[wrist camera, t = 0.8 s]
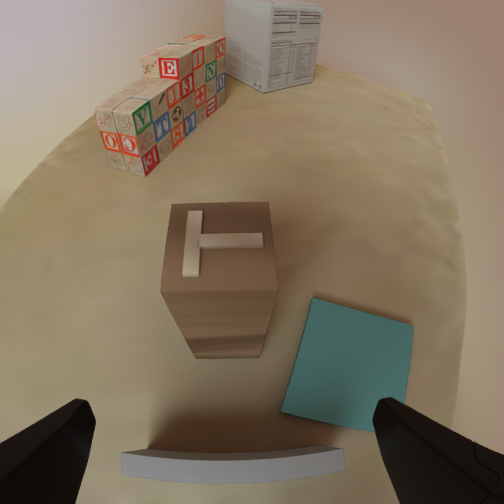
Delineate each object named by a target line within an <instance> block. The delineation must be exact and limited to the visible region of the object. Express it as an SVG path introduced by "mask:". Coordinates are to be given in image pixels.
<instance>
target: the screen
mask: <svg viewBox="0 0 504 504" xmlns="http://www.w3.org/2000/svg"><path fill="white" fill-rule="evenodd" d="M121 464H122V475H126V476H132V477H139V478H145V479H153V480H162V481H172V482H184V483H204V484H242V483H261V482H274V481H284V480H293V479H300V478H307V477H314V476H320V475H325V474H331V473H336V472H341V471H345V464H344V451H343V448H336V447H329V446H322V445H317V446H310V447H303V448H294V449H285V450H275V451H261V452H241V453H199V452H179V451H166V450H155V449H142V450H135V451H129V452H121Z"/></svg>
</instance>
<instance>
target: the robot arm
mask: <svg viewBox="0 0 504 504" xmlns="http://www.w3.org/2000/svg"><path fill="white" fill-rule="evenodd" d="M372 422H373V426H374V430H375V433H376V437H377V441H378V444H379V448H380V452H381V456H382V459H383V462H384V464H385V467H386V470H387V472H388V474H389V477H390V480H391V482H392V485H393V487H394V490H395V492H396V495H397V497H398V500H399V503H400V504H504V455H503V454H500V453H498V452H495V451H492V450H490V449H488V448H486V447H484V446H482V445H479V444H478V443H476V442H472V440H470V439H468V438H466V437H464V436H462V435H460V434H458V433H456V432H454V431H452V430H450V429H449V428H447V427H445V426H443V425H441V424H439V423H437V422H436V421H434V420H432V419H430V418H428V417H426V416H425V415H423V414H421V413H419V412H417V411H416V410H414V409H412V408H410V407H409V406H407V405H405V404H403V403H402V402H400V401H398V400H396V399H395V398H393V397H386V398H381V399H380V400H379V401H378V403H377V405H376V408H375V411H374V414H373V418H372ZM95 425H96V420H95V416H94V414H93V412H92V409H91V407H90V404H89V402H88V401H86V400H83V399H78V398H77V399H74V400H72V401H71V402H69V403H67V404H66V405H64V406H62V407H61V408H59V409H57V410H56V411H54V412H52V413H51V414H49V415H47V416H46V417H44V418H42V419H41V420H39V421H37V422H36V423H34V424H32V425H31V426H29V427H27V428H26V429H24V430H22V431H21V432H19V433H17V434H15V435H14V436H12V437H10V438H8V439H7V440H5V441H3V442H1V443H0V504H75V503H76V499H77V496H78V492H79V489H80V486H81V482H82V479H83V476H84V473H85V469H86V466H87V463H88V459H89V454H90V449H91V444H92V439H93V434H94V430H95Z"/></svg>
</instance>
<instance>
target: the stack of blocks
mask: <svg viewBox="0 0 504 504" xmlns="http://www.w3.org/2000/svg"><path fill="white" fill-rule="evenodd" d="M225 49H226V37H221V36H210V35H209V36H206V35H190V36H187V37H185V38H182V39H177V40H174V41H172V42H170V43H168V44H167V45H164V46H162V47H160V48H158V49H156V50H155V51H152V52H150V53H148V54H146V55H144V56H142V57H140V60H141V69H142V78H141V79H139V80H137V81H136V82H134V83H132V84H131V85H129V86H128V87H126V88H124V89H122V90H121V91H119V92H118V93H116V94H115V95H113V96H112V97H111V98H109V99H108V100H106V101H105V102H103V103H102V104H101V105H99V106H98V107H96V108H95V113H96V117H97V121H98V125H99V128H100V134H101V137H102V140H103V143H104V146H105V149H106V152H107V155H108V158H109V161H110V164H111V166H112V167H114V168H117V169H121V170H124V171H128V172H130V173H133V174H137V175H140V176H144V177H146V176H147V175H148V174H149V173H150V171H151V170H152V169H153V168H154V167H155V166H156V165H157V164H158V163H159V162H161V161H162V160H163V159H164V158H165V157H166V156H167V155H168V154H169V153H170V152H171V151H172V150H173V149H174V148H175V147H176V146H177V145H178V144H179V143H180V142H182V141H183V140H184V139H185V137H186V136H187V135H188V134H189V133H191V132H192V131H193V130H194V129H195V128H196V127H197V126H198V125H199V124H200V123H201V122H202V121H204V120H205V119H206V118H207V117H209V116H210V115H211V114H212V113H213V112H214V111H216V110H217V109H218V108H219V107H220V106H222V105H223V104H224V103H225V102H226V98H225V70H226V54H225Z"/></svg>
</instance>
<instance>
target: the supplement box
mask: <svg viewBox="0 0 504 504" xmlns="http://www.w3.org/2000/svg"><path fill="white" fill-rule="evenodd" d="M323 11H324V6H322V5H317V4H313V3H309V2H305V1H300V0H225V37H226V49H225V54H226V70H225V73H226V74H228V75H230V76H232V77H234V78H236V79H238V80H240V81H242V82H244V83H245V84H247V85H249V86H251V87H253V88H255V89H257V90H259V91H260V92H262V93H266V92H270V91H274V90H279V89H283V88H287V87H292V86H297V85H302V84H307V83H312V80H313V74H314V68H315V62H316V56H317V50H318V44H319V38H320V31H321V25H322V18H323Z"/></svg>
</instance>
